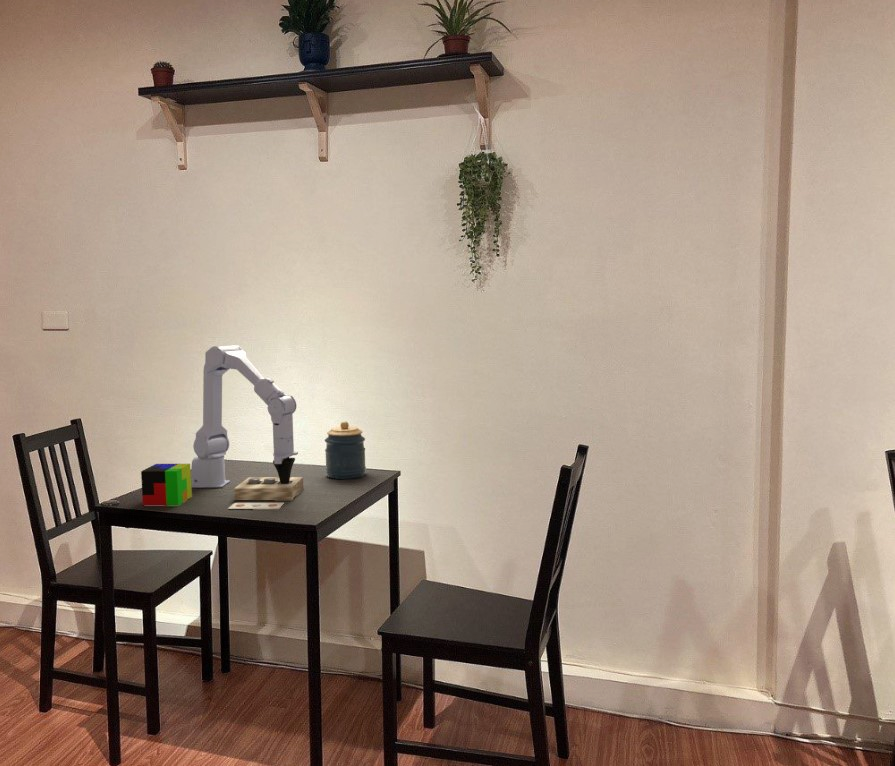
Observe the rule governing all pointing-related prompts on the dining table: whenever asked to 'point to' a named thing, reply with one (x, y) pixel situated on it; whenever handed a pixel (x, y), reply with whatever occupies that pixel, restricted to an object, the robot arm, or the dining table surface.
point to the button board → (268, 489)
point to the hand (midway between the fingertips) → (284, 483)
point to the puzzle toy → (166, 484)
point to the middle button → (269, 481)
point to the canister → (345, 452)
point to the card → (256, 506)
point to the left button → (254, 481)
